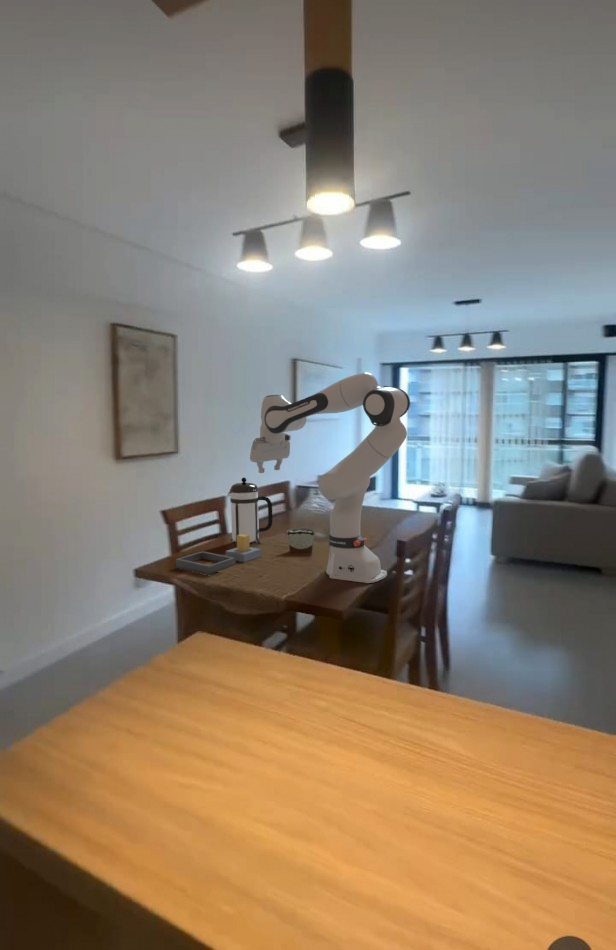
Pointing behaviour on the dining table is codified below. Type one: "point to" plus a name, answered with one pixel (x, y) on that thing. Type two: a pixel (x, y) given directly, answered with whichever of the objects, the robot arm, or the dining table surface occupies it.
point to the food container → (300, 539)
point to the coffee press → (247, 511)
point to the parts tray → (189, 565)
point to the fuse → (243, 543)
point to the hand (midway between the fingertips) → (269, 471)
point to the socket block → (244, 554)
